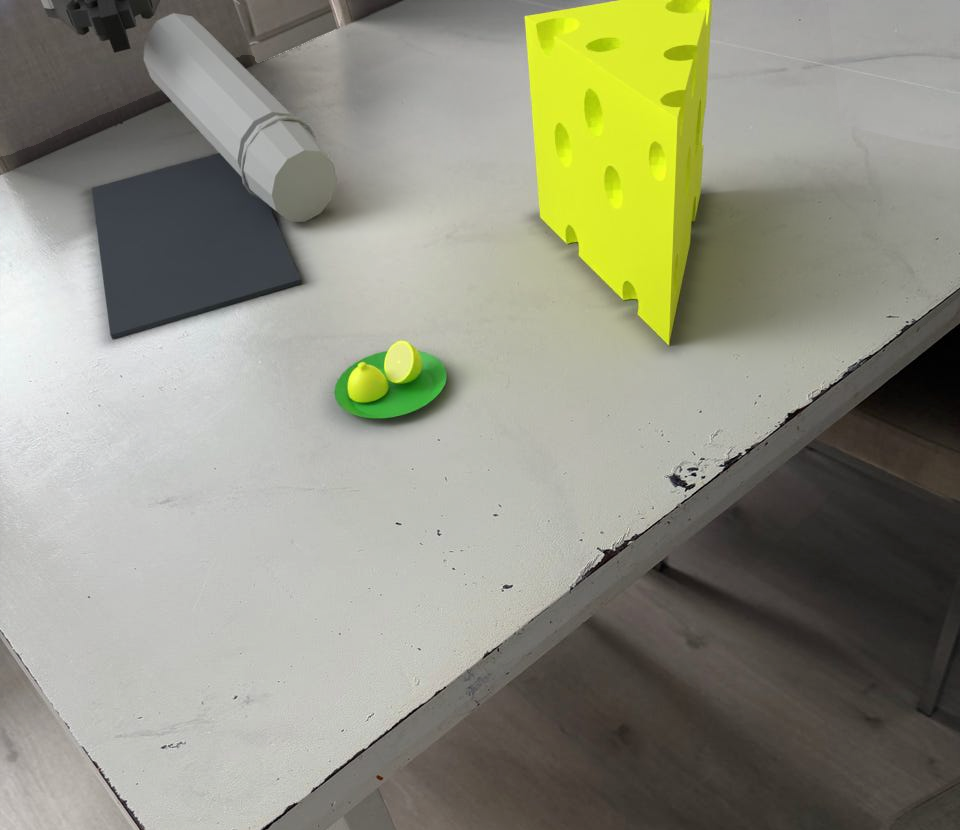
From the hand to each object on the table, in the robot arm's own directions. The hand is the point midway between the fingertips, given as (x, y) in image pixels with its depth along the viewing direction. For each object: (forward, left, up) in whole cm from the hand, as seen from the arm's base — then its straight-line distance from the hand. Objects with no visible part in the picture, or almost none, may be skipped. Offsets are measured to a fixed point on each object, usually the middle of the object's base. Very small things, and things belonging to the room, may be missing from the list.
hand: (115, 33), depth 80 cm
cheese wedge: (+46, -13, -14) cm, 50 cm away
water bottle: (0, +10, -5) cm, 11 cm away
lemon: (+31, -32, -14) cm, 47 cm away
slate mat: (+5, -9, -14) cm, 17 cm away
